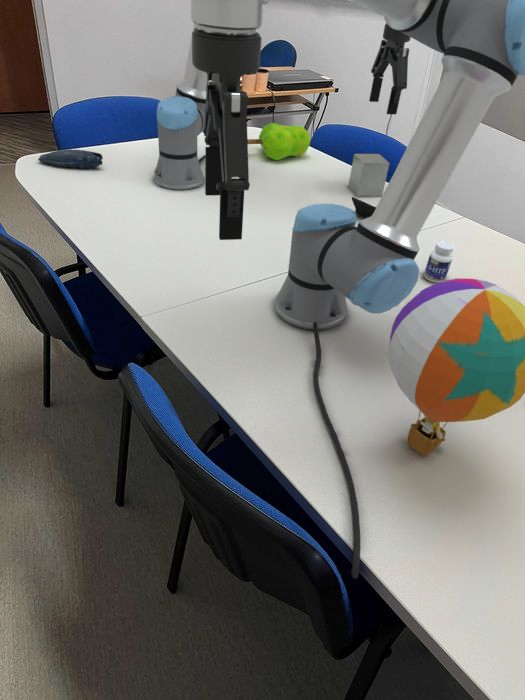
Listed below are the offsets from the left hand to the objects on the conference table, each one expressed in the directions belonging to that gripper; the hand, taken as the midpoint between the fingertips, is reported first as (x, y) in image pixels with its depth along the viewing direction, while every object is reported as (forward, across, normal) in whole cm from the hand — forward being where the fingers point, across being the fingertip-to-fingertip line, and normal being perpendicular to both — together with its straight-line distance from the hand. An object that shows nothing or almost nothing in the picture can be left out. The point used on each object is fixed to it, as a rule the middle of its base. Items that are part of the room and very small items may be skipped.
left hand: (382, 107), depth 153 cm
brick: (+26, 0, 0) cm, 26 cm away
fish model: (+26, +24, +93) cm, 99 cm away
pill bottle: (+26, -54, +3) cm, 60 cm away
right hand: (-8, -89, +61) cm, 108 cm away
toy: (+26, -105, +30) cm, 112 cm away
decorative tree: (+26, +33, +25) cm, 49 cm away
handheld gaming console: (+26, -20, +6) cm, 33 cm away
